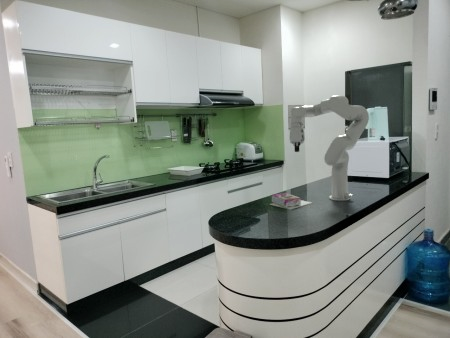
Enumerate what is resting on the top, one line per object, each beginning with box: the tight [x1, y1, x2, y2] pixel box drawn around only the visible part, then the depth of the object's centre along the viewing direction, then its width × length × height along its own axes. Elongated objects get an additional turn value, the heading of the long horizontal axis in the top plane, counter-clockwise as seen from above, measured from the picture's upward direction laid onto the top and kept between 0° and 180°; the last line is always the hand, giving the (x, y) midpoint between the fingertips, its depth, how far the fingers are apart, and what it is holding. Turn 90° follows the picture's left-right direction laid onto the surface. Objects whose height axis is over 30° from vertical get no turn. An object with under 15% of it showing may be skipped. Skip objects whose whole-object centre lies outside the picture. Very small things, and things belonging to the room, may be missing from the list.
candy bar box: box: [271, 192, 302, 207], centre depth 208 cm, size 11×5×16 cm
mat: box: [269, 200, 313, 210], centre depth 209 cm, size 17×20×1 cm
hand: (297, 151), depth 236 cm, fingers closed
